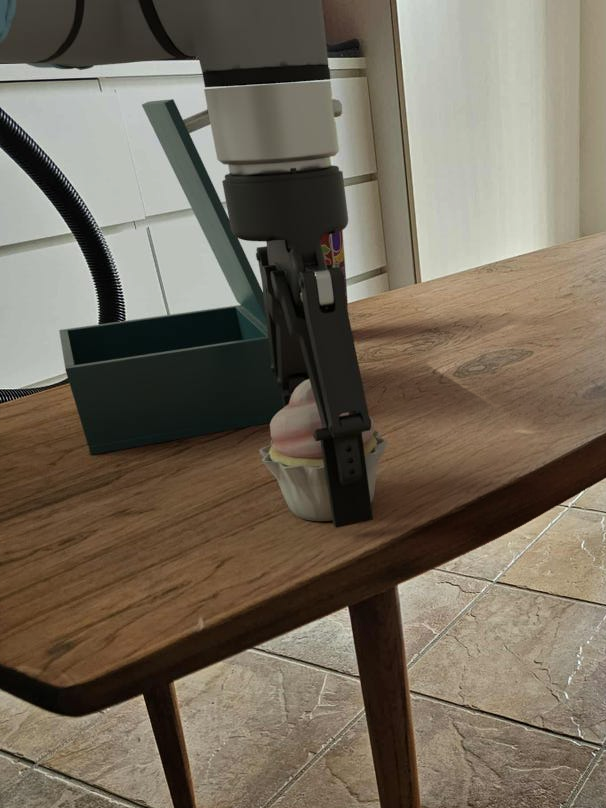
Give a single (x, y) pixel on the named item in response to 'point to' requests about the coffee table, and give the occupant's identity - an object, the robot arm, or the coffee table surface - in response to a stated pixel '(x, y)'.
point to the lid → (205, 200)
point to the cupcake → (309, 456)
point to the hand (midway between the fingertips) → (331, 495)
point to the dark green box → (170, 377)
